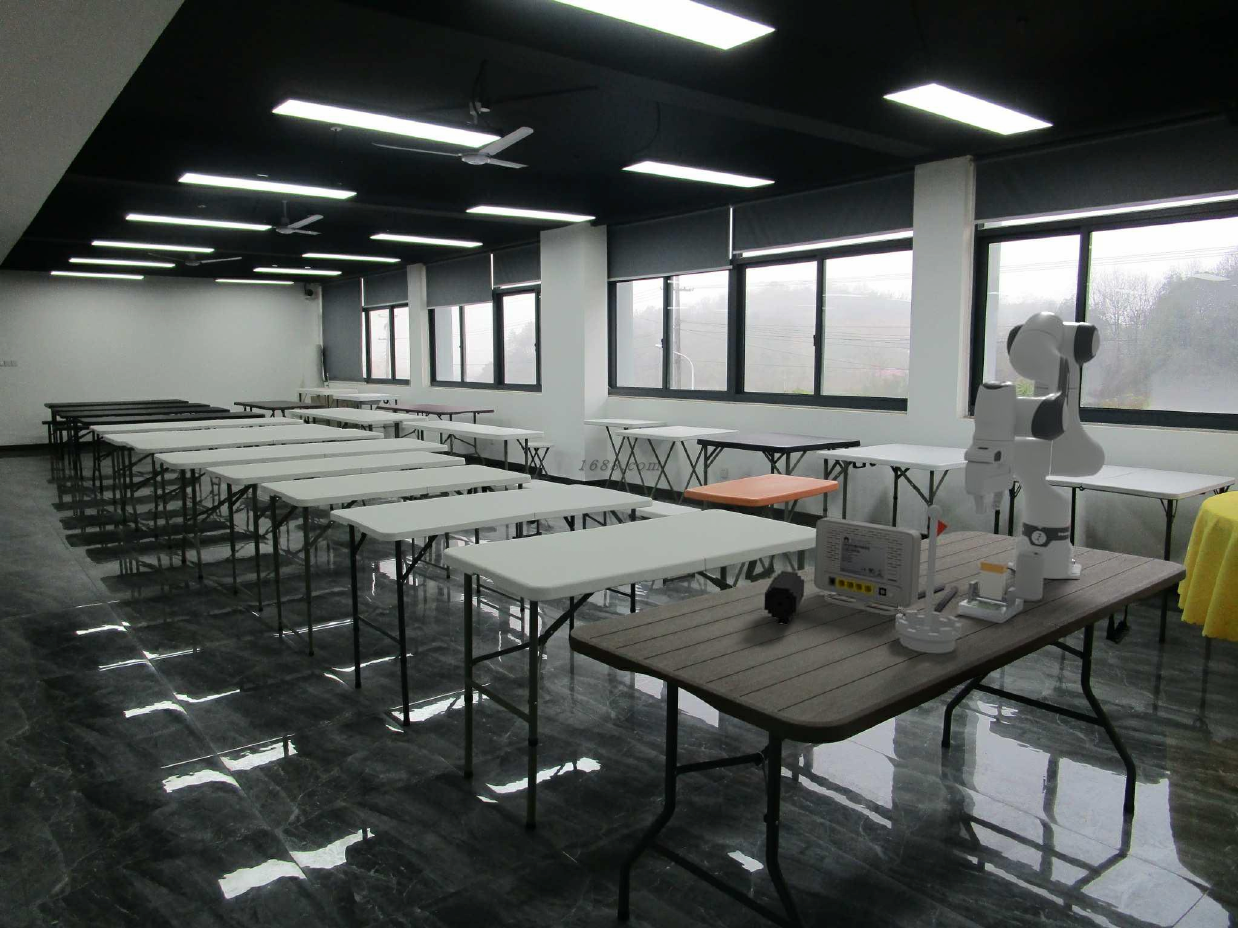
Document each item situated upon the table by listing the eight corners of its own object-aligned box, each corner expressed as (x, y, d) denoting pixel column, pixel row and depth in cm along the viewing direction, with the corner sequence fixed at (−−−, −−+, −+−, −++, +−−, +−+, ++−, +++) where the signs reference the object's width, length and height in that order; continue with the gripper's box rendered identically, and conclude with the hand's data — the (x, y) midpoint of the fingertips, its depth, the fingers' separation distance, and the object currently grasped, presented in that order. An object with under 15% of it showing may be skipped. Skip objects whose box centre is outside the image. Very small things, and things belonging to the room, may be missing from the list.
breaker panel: (980, 600, 205) (982, 575, 204) (1022, 609, 198) (1024, 583, 198) (957, 613, 194) (959, 587, 193) (1001, 623, 187) (1003, 595, 187)
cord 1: (940, 587, 216) (940, 582, 216) (945, 588, 215) (945, 583, 215) (904, 601, 204) (904, 595, 204) (909, 602, 203) (909, 597, 203)
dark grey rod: (952, 590, 214) (952, 585, 214) (958, 591, 213) (958, 586, 213) (933, 612, 195) (933, 606, 195) (939, 613, 194) (939, 607, 194)
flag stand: (936, 659, 165) (945, 513, 161) (882, 641, 175) (889, 503, 171) (972, 646, 172) (981, 506, 168) (918, 629, 183) (925, 497, 179)
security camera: (804, 610, 196) (806, 569, 195) (794, 634, 179) (796, 590, 177) (775, 607, 198) (776, 567, 197) (763, 630, 181) (764, 587, 180)
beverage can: (1045, 602, 204) (1048, 556, 202) (1017, 601, 205) (1020, 554, 203) (1037, 595, 210) (1041, 550, 208) (1010, 594, 211) (1014, 548, 210)
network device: (921, 611, 196) (925, 529, 193) (905, 619, 190) (910, 535, 187) (825, 590, 213) (828, 515, 211) (807, 597, 207) (811, 519, 204)
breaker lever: (977, 596, 199) (980, 559, 198) (1008, 602, 194) (1011, 564, 193) (974, 598, 197) (976, 561, 196) (1005, 604, 193) (1008, 566, 191)
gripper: (995, 448, 197) (991, 505, 198) (961, 453, 182) (957, 514, 184) (1023, 450, 192) (1018, 508, 194) (990, 455, 178) (985, 518, 179)
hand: (988, 511), depth 188 cm, fingers open, 8 cm apart
